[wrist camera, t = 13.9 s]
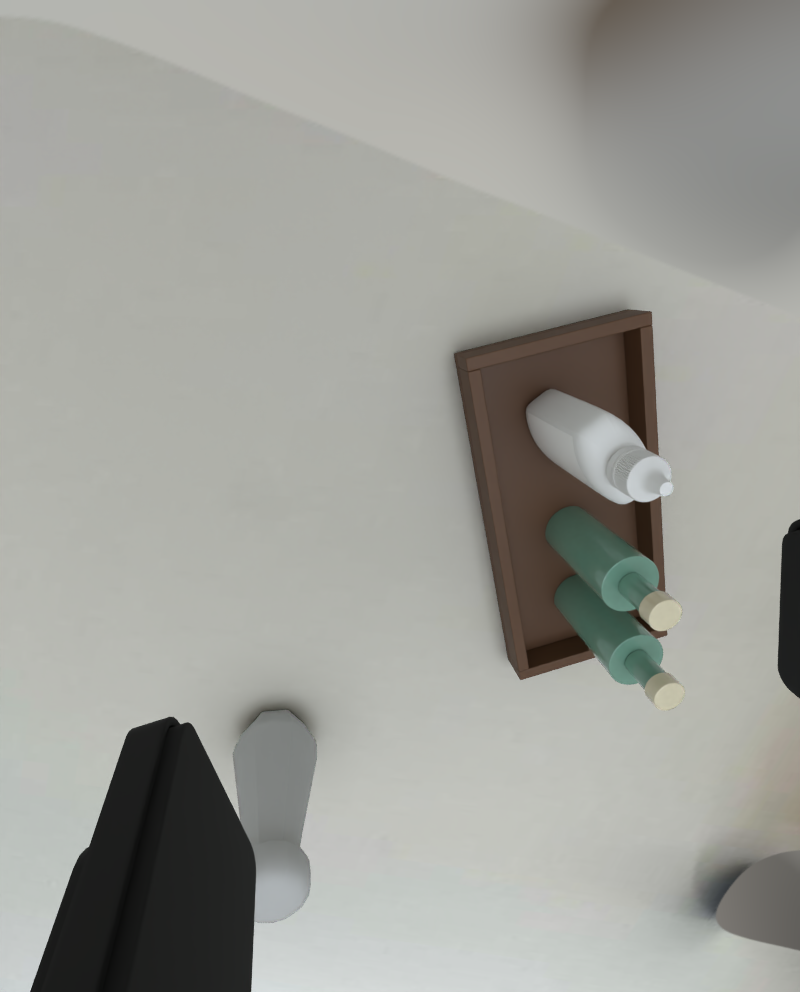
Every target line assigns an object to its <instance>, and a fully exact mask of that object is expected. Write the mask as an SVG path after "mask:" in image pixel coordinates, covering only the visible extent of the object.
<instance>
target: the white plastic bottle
mask: <svg viewBox="0 0 800 992" xmlns="http://www.w3.org/2000/svg"><path fill="white" fill-rule="evenodd" d="M526 418H527V423H528V427H529V430H530V433H531V435H532V437H533V439H534V441H535V443H536V444H537V446H538V447H539V448H540V450H541V451H542V452H543V453H544V454H545V455H546V456H547V457H548V458H549V459H550V460H551V461H553V462H554V463H555V464H557V465H558V466H560V467H561V468H562V469H564V470H565V471H567V472H568V473H570V474H571V475H573V476H574V477H576V478H577V479H579V480H580V481H581V482H583V483H584V484H586V485H587V486H589V487H590V488H592V489H593V490H595V491H596V492H598V493H599V494H601V495H602V496H604V497H605V498H607V499H609V500H611V501H613V502H615V503H617V504H627V503H630V502H632V501H633V500H635V501H638V502H649V501H652V500H655V499H657V498H658V497H660V496H661V495H662V496H668V495H670V494H671V493H672V491H673V484H672V483H671V482H670V480H671V475H672V474H671V467H670V465H669V463H668V462H667V461H666V460H665V459H664V458H662V457H660V456H658V455H656V454H654V453H652V452H650V451H648V450H646V448H645V446H644V444H643V443H642V441H641V440H640V438H639V437H638V436H637V434H636V433H635V432H634V431H633V430H632V429H631V428H630V427H629V426H628V425H627V424H626V423H624V422H623V421H622V420H620V419H619V418H618V417H616V416H614V415H613V414H611V413H609V412H607V411H605V410H603V409H600V408H598V407H596V406H594V405H591V404H589V403H587V402H584V401H582V400H580V399H577V398H575V397H572V396H570V395H567V394H565V393H563V392H560V391H558V390H555V389H549V390H546V391H545V392H543V393H542V394H541V395H540V396H538V397H537V398H536V399H534V400H533V401H532V402H531V403H530V404H529V405H528V406H527V408H526Z"/></svg>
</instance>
